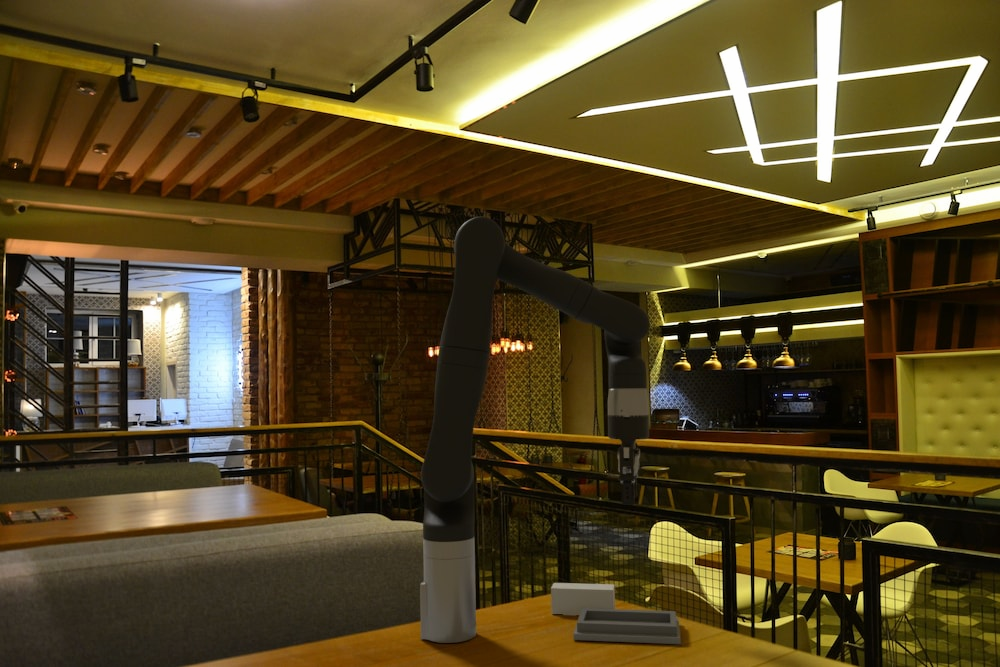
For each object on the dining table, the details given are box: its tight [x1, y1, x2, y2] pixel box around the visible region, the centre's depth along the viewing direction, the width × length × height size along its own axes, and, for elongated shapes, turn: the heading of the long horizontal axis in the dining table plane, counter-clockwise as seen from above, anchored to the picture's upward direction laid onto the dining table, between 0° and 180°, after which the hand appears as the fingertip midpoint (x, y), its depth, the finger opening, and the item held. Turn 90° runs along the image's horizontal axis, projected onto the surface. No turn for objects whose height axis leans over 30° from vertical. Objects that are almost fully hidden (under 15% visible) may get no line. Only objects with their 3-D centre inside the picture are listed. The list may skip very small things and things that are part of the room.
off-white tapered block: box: [550, 582, 616, 616], centre depth 151 cm, size 4×12×5 cm, turn 79°
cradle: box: [573, 608, 682, 645], centre depth 137 cm, size 12×18×2 cm, turn 79°
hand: (629, 501), depth 142 cm, fingers open, 8 cm apart
